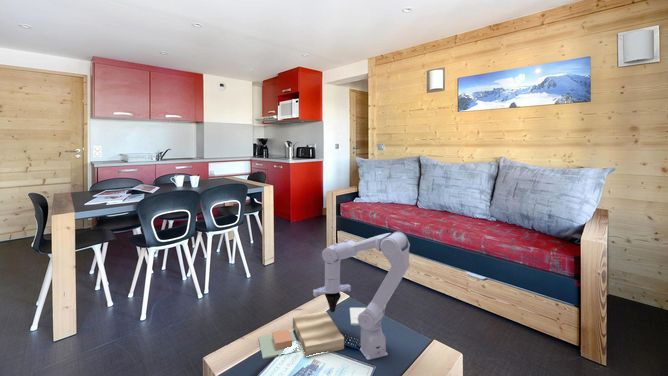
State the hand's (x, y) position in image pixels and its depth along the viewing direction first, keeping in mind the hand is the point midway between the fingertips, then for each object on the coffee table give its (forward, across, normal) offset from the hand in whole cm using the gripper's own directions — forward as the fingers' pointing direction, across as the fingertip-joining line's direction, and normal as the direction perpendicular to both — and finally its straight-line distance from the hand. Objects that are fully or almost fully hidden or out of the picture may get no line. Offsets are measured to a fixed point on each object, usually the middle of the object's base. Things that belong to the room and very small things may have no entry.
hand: (332, 310), depth 118 cm
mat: (+9, +20, 0) cm, 23 cm away
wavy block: (+9, +6, 0) cm, 11 cm away
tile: (+8, +19, 0) cm, 21 cm away
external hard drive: (+10, -15, -7) cm, 20 cm away
